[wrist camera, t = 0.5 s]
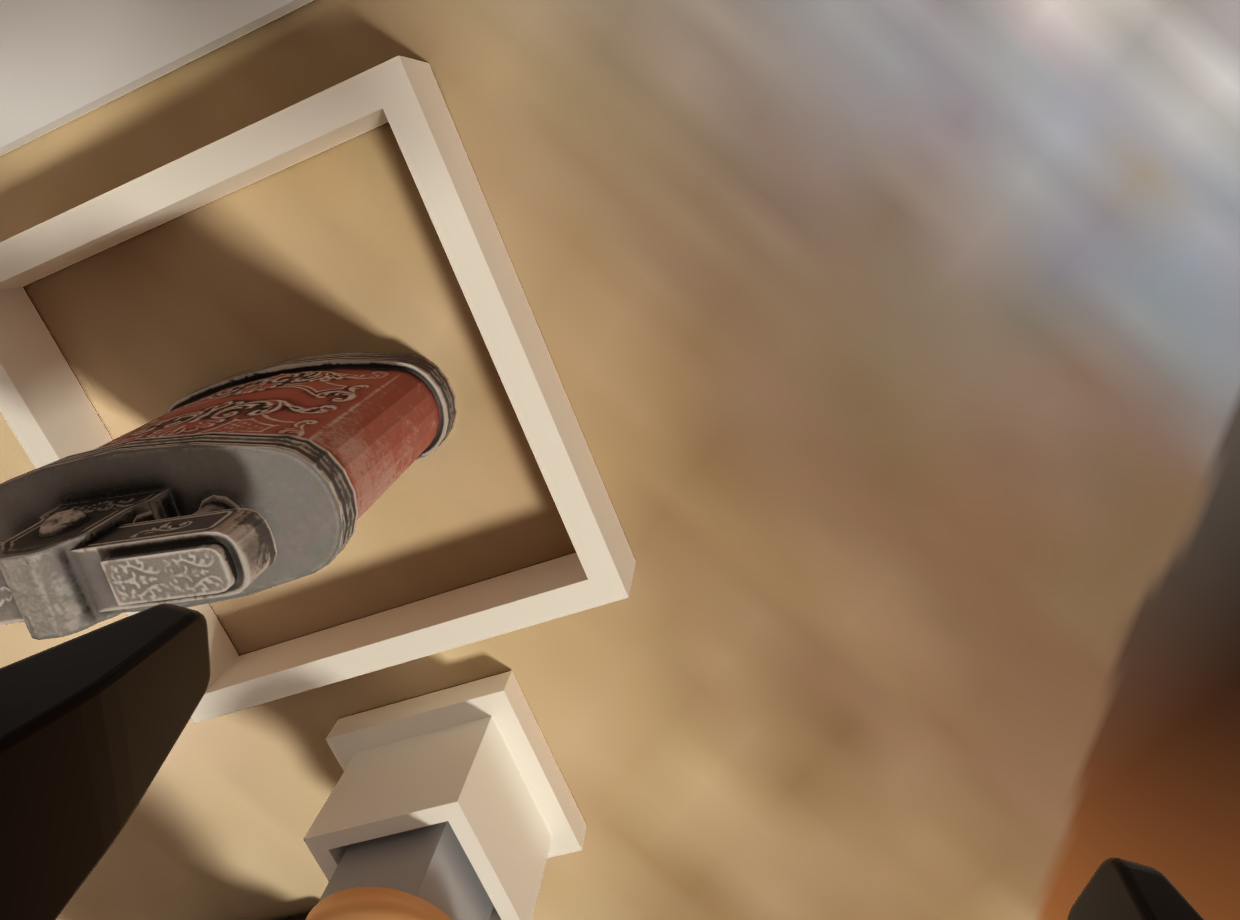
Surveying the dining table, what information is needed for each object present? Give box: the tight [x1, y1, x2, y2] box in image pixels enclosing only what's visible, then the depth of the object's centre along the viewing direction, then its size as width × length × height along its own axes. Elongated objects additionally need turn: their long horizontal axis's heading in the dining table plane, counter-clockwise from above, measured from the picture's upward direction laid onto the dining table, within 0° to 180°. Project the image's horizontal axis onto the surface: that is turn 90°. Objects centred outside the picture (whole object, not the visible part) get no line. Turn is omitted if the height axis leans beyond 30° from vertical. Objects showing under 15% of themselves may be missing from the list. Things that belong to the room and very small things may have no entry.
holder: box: [0, 55, 636, 920], centre depth 23 cm, size 14×22×4 cm, turn 21°
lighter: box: [0, 352, 457, 640], centre depth 19 cm, size 8×3×10 cm, turn 101°
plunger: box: [305, 821, 494, 920], centre depth 23 cm, size 4×4×4 cm
